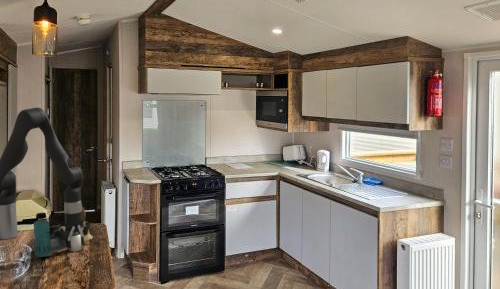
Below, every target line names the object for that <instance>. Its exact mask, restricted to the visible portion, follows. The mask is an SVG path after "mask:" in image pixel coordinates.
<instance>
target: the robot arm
mask: <svg viewBox="0 0 500 289" xmlns="http://www.w3.org/2000/svg"><path fill="white" fill-rule="evenodd" d="M35 129H39V130H40V131H41V132H42V134H43V136H44V141H45V144H44V146H45V147H44V148H45V151H46V154H47V155H48V158H49V159H50V161H51V162H52V164H53V165H54V167H55V170H56V174H57V177H58V179H59V180H60V181H61V182H62V183H63V184H64V185H68V187H67V188H65V190H64V191H63V200H64V205H63V206H64V207H63V208H64V210H63V211H64V226H61V228H58V230H59V233H60V237H61V239H62V240H64V241H66V247H67V248H66V249H68V250H69V249H70V248H71V241H70V238H71V236H72V234H73V233H74V232H78V231H79V233H80V234H81V246H83V245H84V243H85V241H84V236H85V235H87V234H88V229H89V226H90V222H89V221H86V220H85V222H83V221H82V219H83V218H82V207H83V205H82V198H81V197H82V196H81V195H82V194H81V190H82V186H83V182H84V181H83V180H84V173H83V170H82V169H81V168H80V167H78V166H72V167H69V162H70V161H71V160H70V156H69V155H68V153H67V152H66V151H65V149H64V147H63V146H62V144H61V142H60V141H59V139H58V136H57V135H56V133H55V130H54V128H53V125H52V124H51V121H50V119H49V116H48V115H47V113H46V112H45V110H44V109H42V108H40V107H31V108H25V109H23V110H21V111H19V113H18V114H17V116H16V119H15V123H14V126H13V129H12V131H11V135H10V137H9V139H8V142H7V143H6V145H5V147H4V149H3V152H2V154H1V157H0V192H1V191H3V192H1V194H0V240H8V239H9V240H10V239H13V238H16V237H18V235H19V233H18V219H17V217H18V216H17V204H16V203H17V202H16V198H17V178H16V174H15V173H14V172H13V170H14V168H16V167H17V166H18V165H20V164H21V163H22V162H23V161H24V159H25V157H26V155H27V153H28V150H29V145H28V142H27V139H26V138H27V136H28V135H29V133H30V131H31V130H35ZM82 226H84V228H83V231H82V229H81V227H82ZM65 229H66V230H67V232H66V237H65V233H64V232H65Z"/></svg>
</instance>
